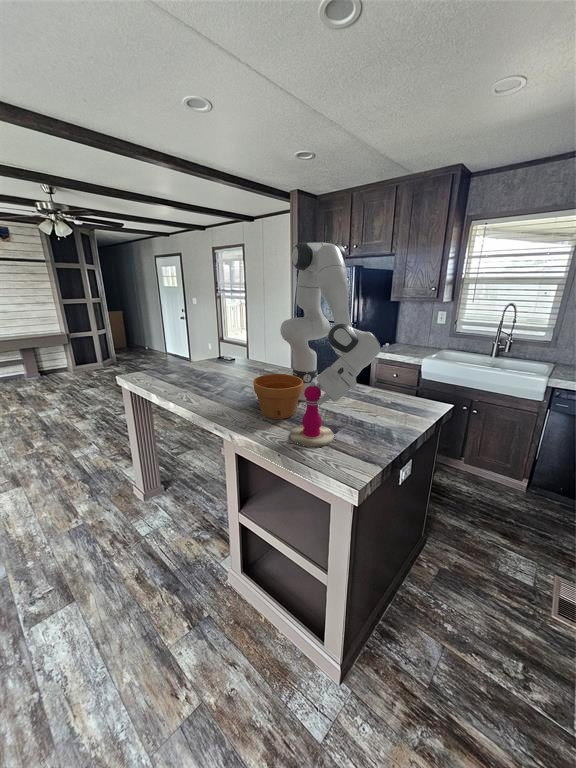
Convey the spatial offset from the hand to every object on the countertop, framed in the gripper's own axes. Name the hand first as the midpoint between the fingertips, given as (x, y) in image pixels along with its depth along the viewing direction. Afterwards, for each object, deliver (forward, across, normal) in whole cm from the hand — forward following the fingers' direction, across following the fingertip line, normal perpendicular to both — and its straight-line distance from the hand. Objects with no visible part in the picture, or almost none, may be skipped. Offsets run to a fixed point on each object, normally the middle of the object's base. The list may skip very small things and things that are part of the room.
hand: (314, 398), depth 115 cm
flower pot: (+18, -24, +3) cm, 30 cm away
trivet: (+11, 0, +10) cm, 15 cm away
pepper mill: (+10, 0, +9) cm, 14 cm away
